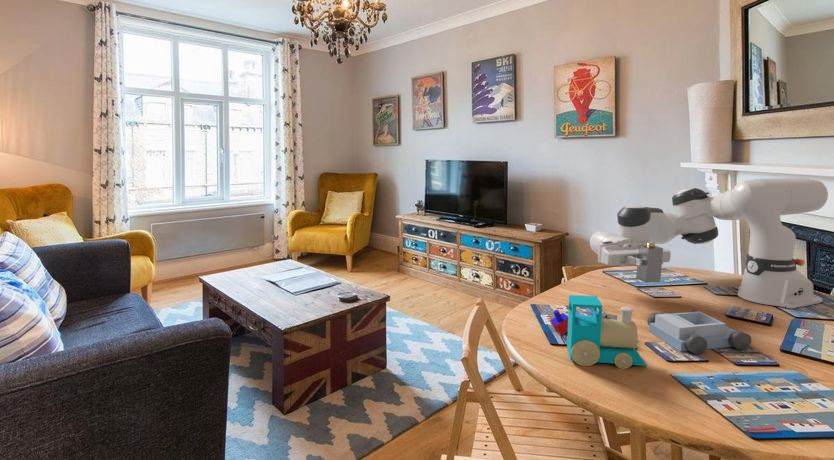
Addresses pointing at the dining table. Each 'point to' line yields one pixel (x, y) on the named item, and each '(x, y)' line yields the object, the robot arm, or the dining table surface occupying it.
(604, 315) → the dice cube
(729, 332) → the chassis
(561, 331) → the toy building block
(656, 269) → the engine block
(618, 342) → the toy train
